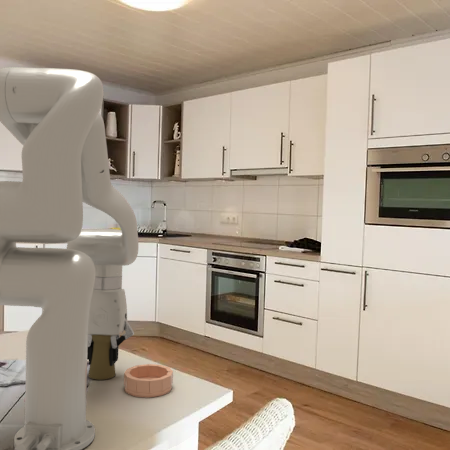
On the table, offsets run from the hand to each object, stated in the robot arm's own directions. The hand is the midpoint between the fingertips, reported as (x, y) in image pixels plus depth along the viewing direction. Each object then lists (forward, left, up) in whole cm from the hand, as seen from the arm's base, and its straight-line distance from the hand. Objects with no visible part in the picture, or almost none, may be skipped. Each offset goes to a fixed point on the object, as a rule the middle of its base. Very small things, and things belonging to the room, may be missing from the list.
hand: (102, 362), depth 108 cm
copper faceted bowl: (-6, -12, -3) cm, 14 cm away
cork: (0, 0, -3) cm, 3 cm away
